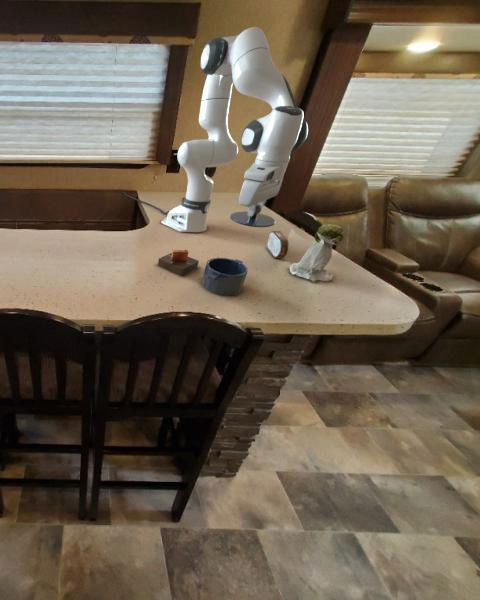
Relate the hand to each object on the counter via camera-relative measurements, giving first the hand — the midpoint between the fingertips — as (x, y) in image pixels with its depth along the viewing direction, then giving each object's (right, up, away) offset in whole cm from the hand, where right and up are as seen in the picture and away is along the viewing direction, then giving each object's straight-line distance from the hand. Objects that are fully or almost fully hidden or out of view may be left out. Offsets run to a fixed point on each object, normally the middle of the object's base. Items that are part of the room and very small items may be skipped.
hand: (253, 214), depth 98 cm
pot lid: (0, -2, +1) cm, 2 cm away
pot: (-9, -24, +4) cm, 26 cm away
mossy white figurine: (+26, -19, +10) cm, 34 cm away
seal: (-20, -13, +14) cm, 28 cm away
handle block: (-20, -16, +15) cm, 30 cm away
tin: (+22, -9, +24) cm, 34 cm away
